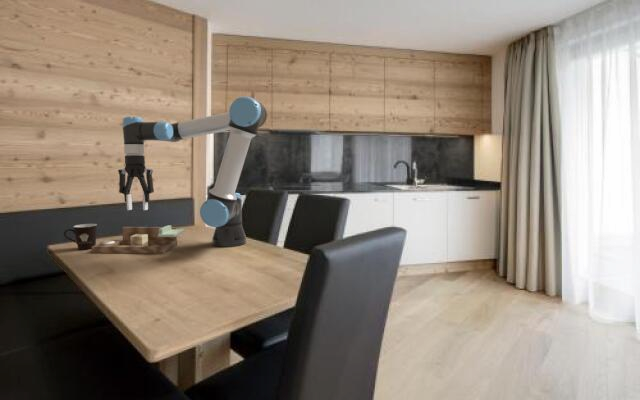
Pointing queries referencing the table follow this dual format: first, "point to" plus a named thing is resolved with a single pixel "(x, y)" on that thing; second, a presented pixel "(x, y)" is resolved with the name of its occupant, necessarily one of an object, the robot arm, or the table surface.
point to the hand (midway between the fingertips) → (137, 209)
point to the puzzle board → (125, 246)
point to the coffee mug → (84, 236)
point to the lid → (169, 231)
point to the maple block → (139, 239)
